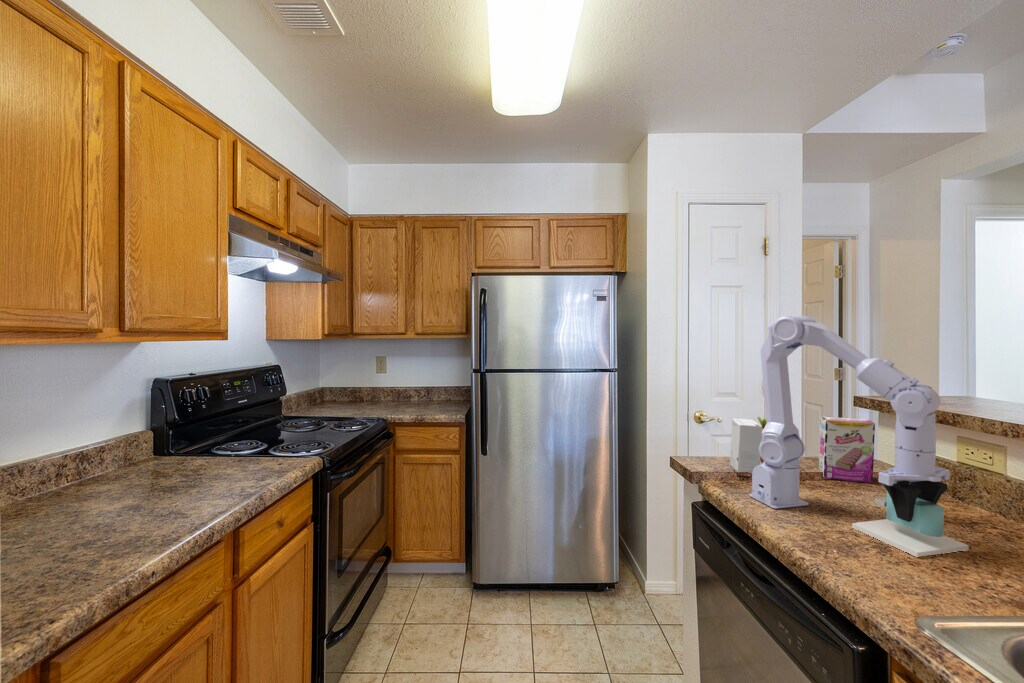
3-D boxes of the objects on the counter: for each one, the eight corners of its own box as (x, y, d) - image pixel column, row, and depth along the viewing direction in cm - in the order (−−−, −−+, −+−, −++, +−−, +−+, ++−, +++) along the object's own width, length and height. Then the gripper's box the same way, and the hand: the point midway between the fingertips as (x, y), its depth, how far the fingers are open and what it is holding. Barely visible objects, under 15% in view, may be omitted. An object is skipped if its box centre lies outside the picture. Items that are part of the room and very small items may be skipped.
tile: (917, 558, 78) (917, 552, 77) (852, 527, 89) (852, 523, 89) (968, 550, 80) (968, 545, 80) (898, 522, 92) (898, 517, 92)
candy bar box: (824, 479, 117) (825, 419, 117) (818, 473, 122) (819, 416, 122) (874, 484, 114) (875, 422, 113) (866, 478, 118) (867, 418, 118)
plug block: (932, 537, 79) (932, 510, 79) (871, 512, 89) (871, 488, 89) (949, 535, 79) (949, 508, 79) (886, 511, 90) (887, 487, 90)
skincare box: (729, 467, 128) (730, 417, 127) (751, 469, 127) (752, 418, 126) (737, 477, 120) (738, 424, 119) (762, 478, 118) (762, 424, 118)
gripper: (907, 457, 78) (906, 531, 78) (969, 451, 81) (968, 523, 81) (867, 446, 85) (866, 515, 85) (926, 442, 87) (925, 508, 88)
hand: (913, 518), depth 83 cm, fingers closed on plug block, 4 cm apart
